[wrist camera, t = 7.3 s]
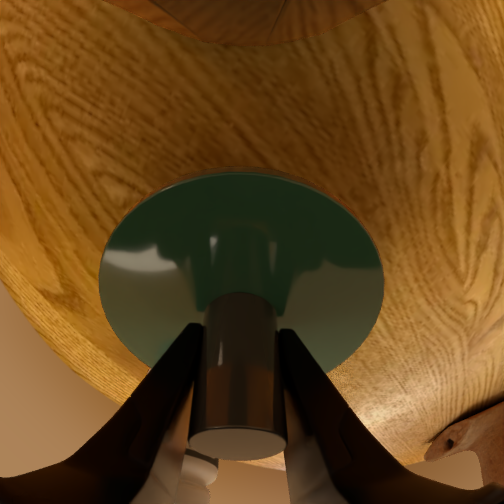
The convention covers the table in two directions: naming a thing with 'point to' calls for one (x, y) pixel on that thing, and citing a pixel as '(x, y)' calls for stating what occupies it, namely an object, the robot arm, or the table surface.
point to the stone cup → (476, 442)
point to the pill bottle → (195, 477)
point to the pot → (247, 18)
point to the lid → (241, 292)
